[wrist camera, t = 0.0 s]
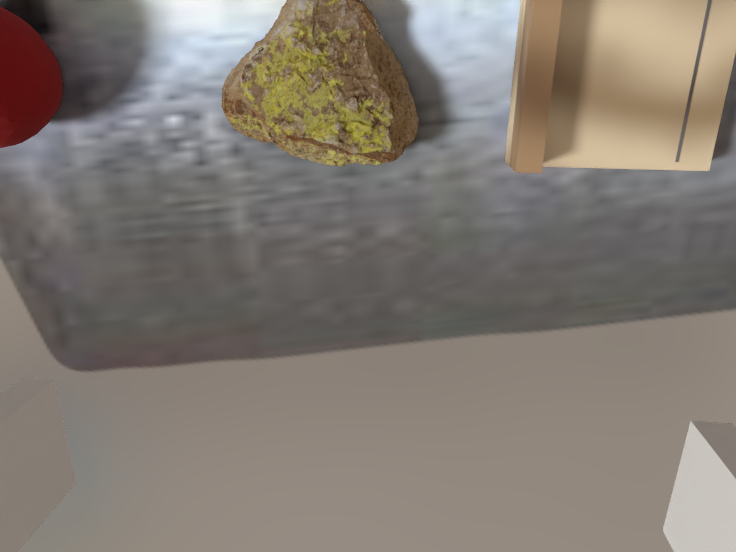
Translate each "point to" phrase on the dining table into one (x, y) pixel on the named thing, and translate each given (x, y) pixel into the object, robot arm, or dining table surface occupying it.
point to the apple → (25, 81)
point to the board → (619, 83)
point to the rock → (324, 87)
